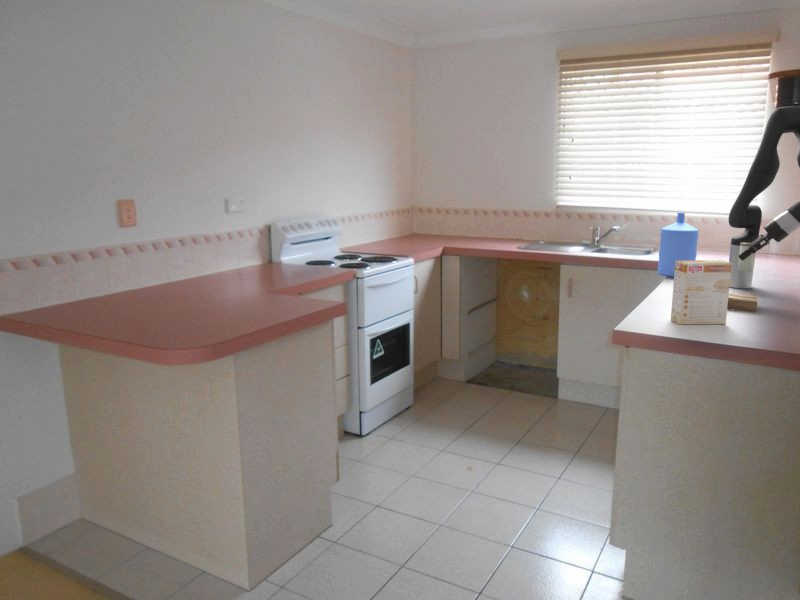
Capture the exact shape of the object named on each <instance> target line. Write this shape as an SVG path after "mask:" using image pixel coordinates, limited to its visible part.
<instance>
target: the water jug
mask: <svg viewBox="0 0 800 600" xmlns="http://www.w3.org/2000/svg"><path fill="white" fill-rule="evenodd" d="M676 214H677V216H676V221H675V222H673V223H672V224H668V225H667V226H664V227H662V228H661V230H660V236H659V237H660V243H659V251H658V264H657V265H658V267H657V274H658V275H659V276H662V277H668V278H674V274H675V263H676V261H686V260H696V258H697V249H698V240H699V230H698V229H697V228H696V227H694V226H692V225H690V224H688V223H686V222H685V217H686V216H685V214H686V213H685V212H677V213H676Z"/></svg>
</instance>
